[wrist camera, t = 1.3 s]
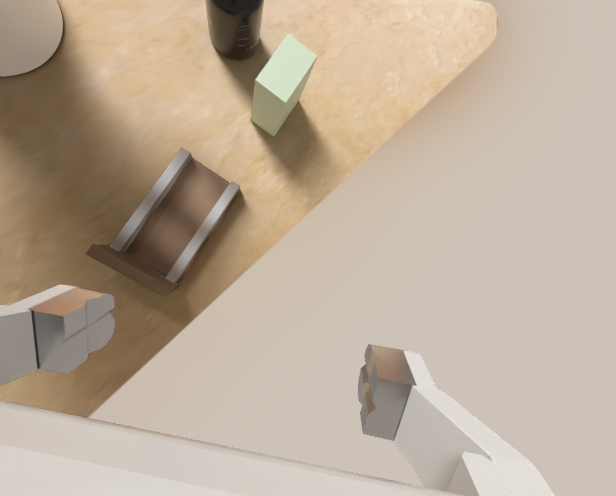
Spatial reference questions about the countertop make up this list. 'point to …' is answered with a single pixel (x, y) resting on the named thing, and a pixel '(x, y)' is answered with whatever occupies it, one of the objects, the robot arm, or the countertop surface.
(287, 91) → the pale green block
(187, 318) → the countertop surface
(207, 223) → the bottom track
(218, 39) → the supplement bottle
